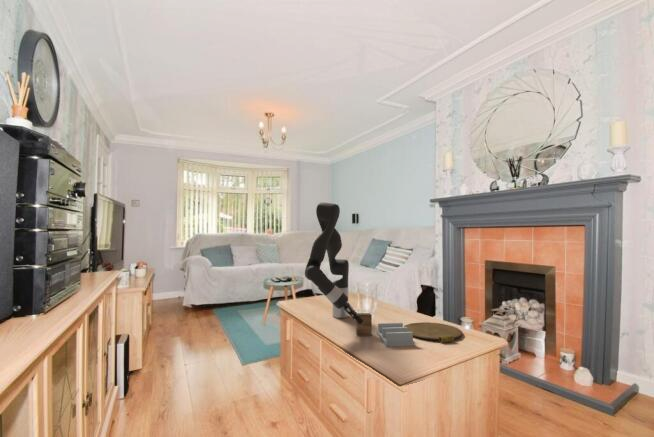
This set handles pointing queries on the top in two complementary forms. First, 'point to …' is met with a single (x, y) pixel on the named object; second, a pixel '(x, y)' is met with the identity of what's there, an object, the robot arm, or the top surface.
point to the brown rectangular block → (364, 325)
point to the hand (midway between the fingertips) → (359, 319)
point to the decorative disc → (434, 331)
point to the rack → (395, 334)
